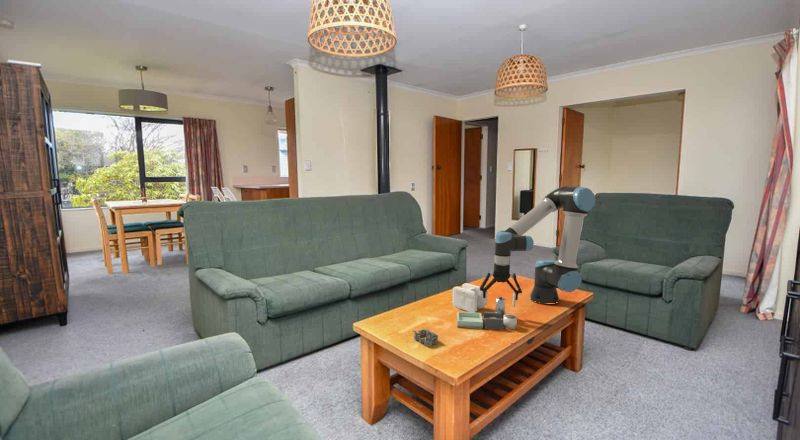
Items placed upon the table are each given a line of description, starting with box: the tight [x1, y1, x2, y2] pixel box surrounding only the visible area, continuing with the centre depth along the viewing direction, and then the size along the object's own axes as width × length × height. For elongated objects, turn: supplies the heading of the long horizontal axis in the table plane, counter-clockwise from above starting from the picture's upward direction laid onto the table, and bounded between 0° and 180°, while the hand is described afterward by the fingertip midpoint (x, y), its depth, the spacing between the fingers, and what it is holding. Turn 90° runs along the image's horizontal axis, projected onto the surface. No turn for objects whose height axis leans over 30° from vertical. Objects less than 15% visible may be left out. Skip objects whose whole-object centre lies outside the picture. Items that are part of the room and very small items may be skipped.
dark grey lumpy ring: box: [412, 328, 440, 347], centre depth 157 cm, size 11×8×4 cm
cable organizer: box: [451, 282, 486, 313], centre depth 194 cm, size 15×11×12 cm
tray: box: [456, 311, 484, 330], centre depth 176 cm, size 12×12×3 cm
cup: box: [502, 313, 518, 330], centre depth 171 cm, size 6×6×5 cm
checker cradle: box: [483, 311, 504, 330], centre depth 173 cm, size 8×9×5 cm
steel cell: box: [494, 296, 506, 319], centre depth 183 cm, size 5×5×10 cm
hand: (499, 305), depth 183 cm, fingers open, 13 cm apart
